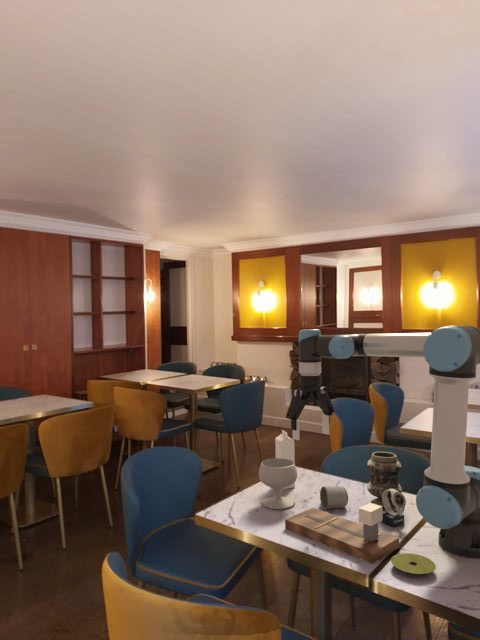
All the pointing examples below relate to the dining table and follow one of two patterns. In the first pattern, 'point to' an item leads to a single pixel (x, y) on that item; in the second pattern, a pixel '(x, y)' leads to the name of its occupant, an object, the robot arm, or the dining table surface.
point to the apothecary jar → (383, 476)
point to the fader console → (341, 535)
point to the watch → (391, 516)
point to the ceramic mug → (333, 497)
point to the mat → (413, 563)
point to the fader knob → (370, 520)
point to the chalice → (278, 481)
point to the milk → (285, 449)
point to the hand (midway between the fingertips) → (311, 436)
